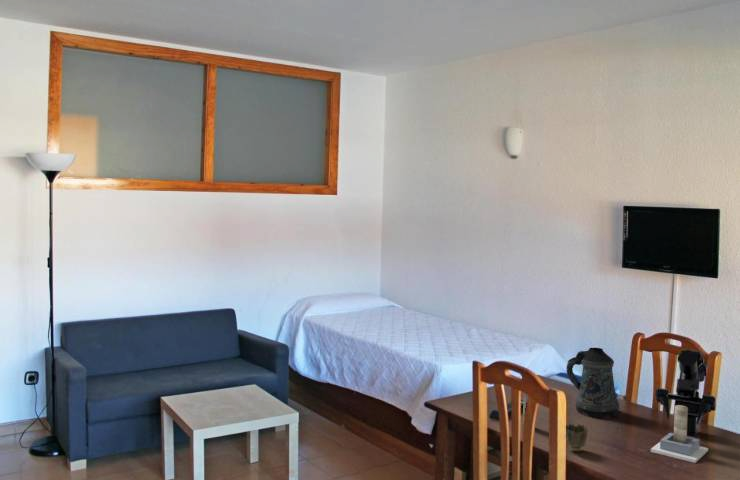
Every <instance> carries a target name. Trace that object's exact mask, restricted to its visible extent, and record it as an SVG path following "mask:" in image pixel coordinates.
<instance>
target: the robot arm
mask: <svg viewBox="0 0 740 480" xmlns="http://www.w3.org/2000/svg"><path fill="white" fill-rule="evenodd" d="M706 361H707V360H706V359H705V358H704V355H703V351H700V350H694V349H681V350H680V351H679V352H678V355H677V363H678V365H679V376H678V378H677V380H676V388H675V393H676V394H675V393H670V390H669V389H667V388H663V387H662V388H661V387H658V388H656V390H655V398H656V402H657V403H659V404H660V406H661V405H662V406H663V407H664V410H665V414H666V420H670V400H673V401H674V407H675V406H676V405H682V406H686V407H688V418H687V435H688V436H693V437H694V436H696V435H697V434H698V433H699V432H700V429H698V428H697V425H699V423H700V422H701V420H702V419H703V417H704V416H706V415H707V414H708V413H711V412H712V411H716V408H717V407H716V406H717V399H716V397H715V395H708V394H702V397H700V392H699V390H700V383H701V382H704V381H705V379H706V377H707V376H706V367H707V368H708V361H707V362H706Z"/></svg>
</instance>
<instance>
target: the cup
mask: <svg viewBox="0 0 740 480" xmlns="http://www.w3.org/2000/svg"><path fill="white" fill-rule="evenodd" d="M565 426H566V435H565V441H566V443H567V444H568V445H569V448H570V450H571V451H572V452H575V453H579V452H581V451H582V450H583V449H582V447H584V446H585V445H586V442H587V440H588V433H589V429H588V428H587V426H586V427H585V425H584V424H581V425H580V424H578V425H577V426H576V425H575V424H574V423H573V424H571V423H569V424H566V425H565Z"/></svg>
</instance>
